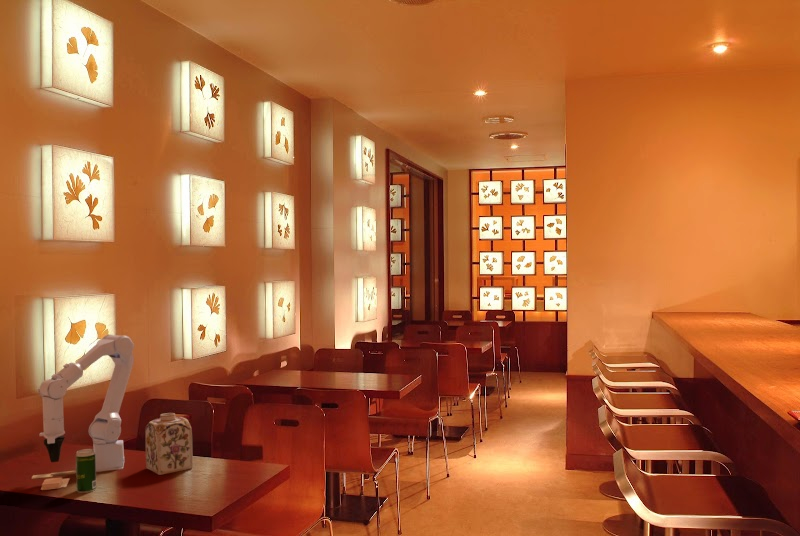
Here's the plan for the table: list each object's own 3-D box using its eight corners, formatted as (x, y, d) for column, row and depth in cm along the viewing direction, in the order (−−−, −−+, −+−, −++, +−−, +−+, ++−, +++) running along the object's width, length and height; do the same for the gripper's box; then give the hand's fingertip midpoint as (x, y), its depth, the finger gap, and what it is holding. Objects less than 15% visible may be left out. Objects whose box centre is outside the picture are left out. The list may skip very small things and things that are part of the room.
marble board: (69, 478, 227) (69, 478, 227) (66, 487, 218) (66, 486, 218) (45, 481, 225) (45, 480, 225) (40, 490, 216) (40, 489, 216)
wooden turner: (75, 472, 234) (75, 469, 234) (74, 475, 231) (74, 472, 231) (33, 477, 230) (33, 474, 230) (31, 480, 227) (31, 477, 227)
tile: (44, 479, 220) (42, 484, 215) (62, 477, 222) (59, 482, 216) (45, 484, 220) (42, 490, 215) (62, 482, 222) (59, 488, 216)
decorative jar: (158, 476, 228) (156, 419, 228) (145, 468, 237) (143, 414, 237) (194, 468, 236) (192, 413, 235) (180, 461, 245) (178, 408, 244)
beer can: (98, 488, 217) (97, 448, 217) (93, 493, 211) (91, 452, 211) (80, 489, 216) (79, 449, 216) (74, 494, 211) (72, 453, 211)
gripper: (42, 414, 230) (44, 457, 230) (35, 424, 216) (37, 469, 216) (66, 412, 232) (68, 454, 232) (61, 421, 218) (62, 466, 219)
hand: (55, 461), depth 224 cm, fingers closed
